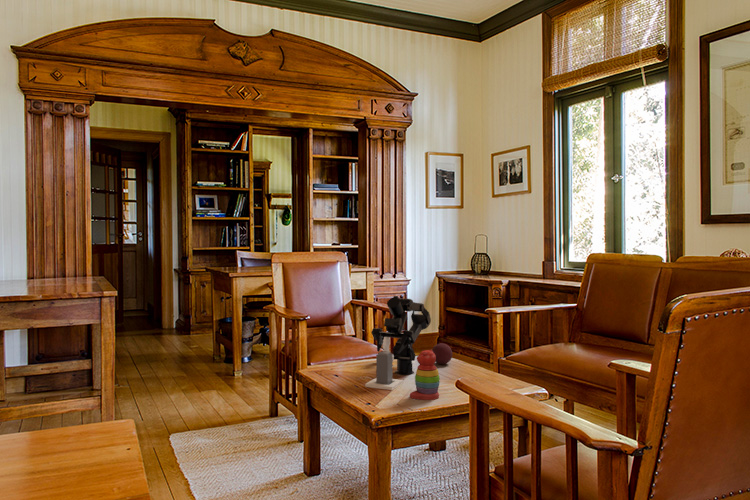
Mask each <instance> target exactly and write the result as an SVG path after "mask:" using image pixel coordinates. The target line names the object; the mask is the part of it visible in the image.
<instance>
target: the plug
mask: <svg viewBox="0 0 750 500" xmlns="http://www.w3.org/2000/svg"><path fill="white" fill-rule="evenodd" d="M392 354H393V353H392V352H391V351H389V352H387V351H384V350H381V351H379V352H377V354H376V362H375V363H376V369H375V370H376V377H375V378H376V383H377V384H385V385H390V384H391V383H392V379H393V362H392Z"/></svg>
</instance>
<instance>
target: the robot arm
mask: <svg viewBox="0 0 750 500" xmlns="http://www.w3.org/2000/svg"><path fill="white" fill-rule="evenodd" d="M386 306H387V308H388V310H389V312H390V314H391V315H392V318H390V317H389V318H388V317H385V318H384V321H383V326H384V327H385V330H386V331H383V329H382V328H379V327H378V328H377V327H374V328H372V329H371V335H372V338H373V340H374V341H376V351H377V353H379V352H381V351H380V350H381V349H382V347H383V340H384V337H390V338H393V339H397V340H396V341H395V342H394V343H395V344H394V346H393V348H392V354H393V356H394V360H396V361H397V362H396V363H397V364H396V371H394V373H395V374H398V375H403V376H407V375H410V374H411V375H412V374H414V373H415V371H413V361H416V353H415V350H414V348H413V345H415V343H416V340H417V338H419V335H420V333H421V332H422V331H423V330H426V329H427V328H428V327H429V326H430V324H431V323H432V317H431V315H430V311H428V310H427V309H426V307H425V305H424V303H423V302H422V303H421V302H414V300H413V299H411V298H404V297H403V298H401V297H399V296H398V295H393V297H391V298H390V299H388V300H387V302H386ZM407 312H412V313H411V314H410V318H411V321H412V325H411V326H410V328H409V330H407V329H406V330H405V322H406V321H407V320H408V314H407ZM415 312H419V313H421V314H419V313H418V314H417V313H415Z"/></svg>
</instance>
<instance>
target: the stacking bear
mask: <svg viewBox="0 0 750 500" xmlns="http://www.w3.org/2000/svg"><path fill="white" fill-rule="evenodd" d="M416 361H417V363H418V364H419V365H418V366H417V368H416V370H415V371H416V372H415V376H414V384H415V390H413V391H411V392H410V393H409V397H410V399H415V400H423V401H430V400H437V399H438V398H439V397H440V394H439V387H440V382H441V381H440V375H439V369H438V367H437V366H436V365H435V363H436V362H435V361H436V356H435V354H434V353H433V351H432V349H428V350H422V351H421V352H420V353H419V354H418V355H417V357H416Z"/></svg>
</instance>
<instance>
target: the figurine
mask: <svg viewBox="0 0 750 500" xmlns="http://www.w3.org/2000/svg"><path fill="white" fill-rule="evenodd" d="M390 345H391V337H384V340H383V344H382V349H383V351H387V352H390ZM391 354H392V363H394V360H395V359H394V356H393V353H391Z"/></svg>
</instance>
